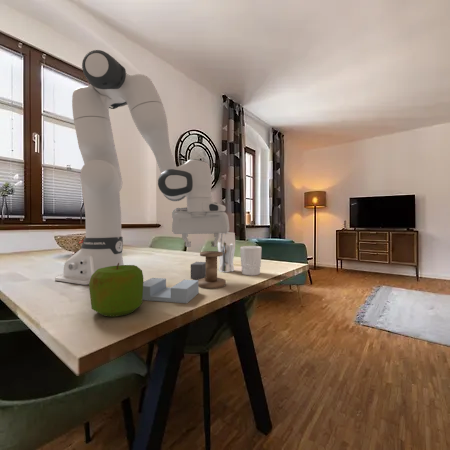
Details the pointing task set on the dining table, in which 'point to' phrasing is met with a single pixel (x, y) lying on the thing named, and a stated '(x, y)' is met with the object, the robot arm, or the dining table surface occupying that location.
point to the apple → (116, 290)
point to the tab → (198, 270)
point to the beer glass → (226, 251)
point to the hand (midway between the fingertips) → (201, 246)
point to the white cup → (250, 260)
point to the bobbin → (211, 271)
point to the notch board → (169, 290)
